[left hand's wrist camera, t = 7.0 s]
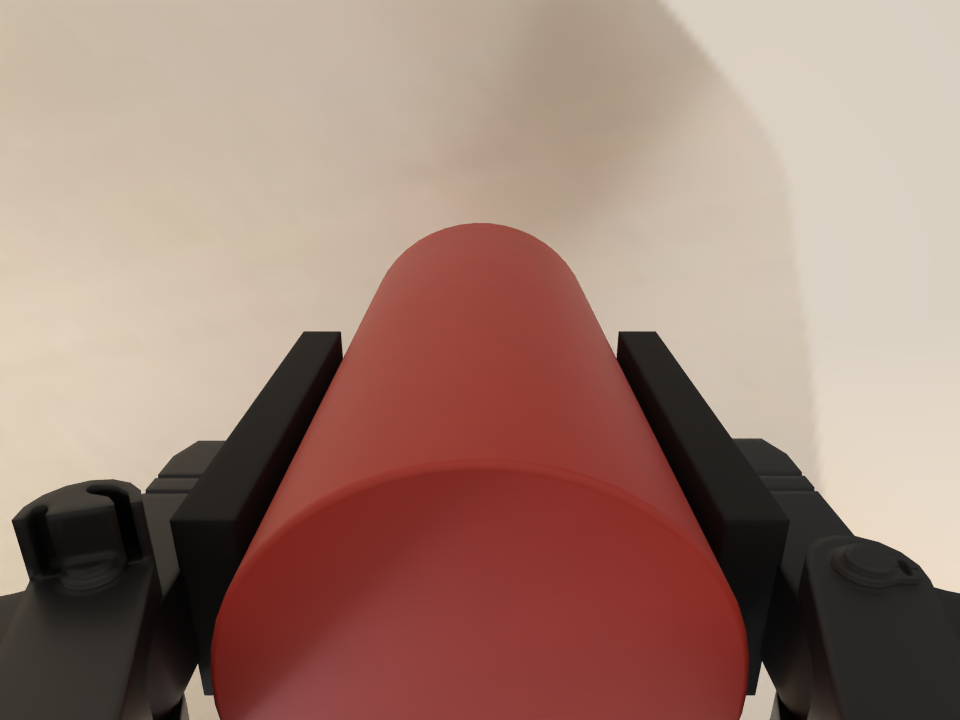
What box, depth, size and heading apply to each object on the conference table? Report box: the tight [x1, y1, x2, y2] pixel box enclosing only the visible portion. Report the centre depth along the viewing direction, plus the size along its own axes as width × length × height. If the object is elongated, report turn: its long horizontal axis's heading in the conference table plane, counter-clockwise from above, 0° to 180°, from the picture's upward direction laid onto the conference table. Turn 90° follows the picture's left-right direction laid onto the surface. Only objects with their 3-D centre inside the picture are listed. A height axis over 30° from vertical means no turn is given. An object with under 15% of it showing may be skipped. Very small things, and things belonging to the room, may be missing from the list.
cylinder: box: [211, 223, 749, 720], centre depth 13 cm, size 6×6×12 cm
